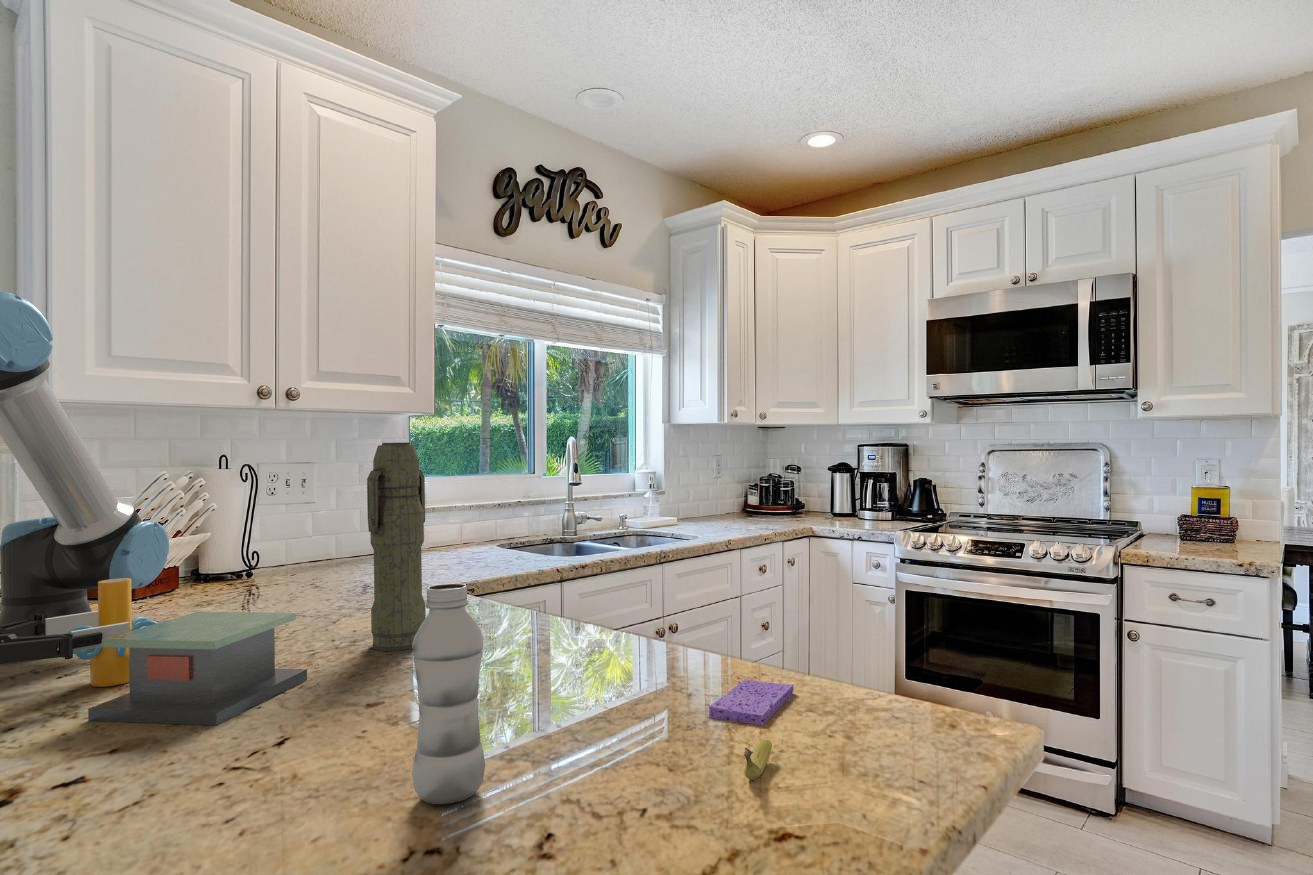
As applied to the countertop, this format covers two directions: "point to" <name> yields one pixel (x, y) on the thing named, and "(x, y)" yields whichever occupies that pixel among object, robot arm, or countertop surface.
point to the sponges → (751, 702)
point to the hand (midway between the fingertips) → (113, 625)
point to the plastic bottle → (448, 699)
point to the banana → (757, 759)
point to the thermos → (396, 545)
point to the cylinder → (112, 609)
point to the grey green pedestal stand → (199, 669)
